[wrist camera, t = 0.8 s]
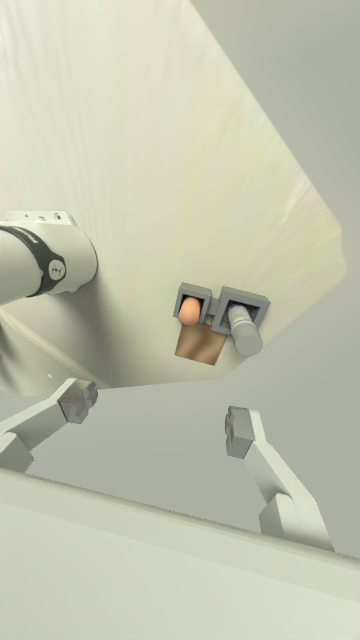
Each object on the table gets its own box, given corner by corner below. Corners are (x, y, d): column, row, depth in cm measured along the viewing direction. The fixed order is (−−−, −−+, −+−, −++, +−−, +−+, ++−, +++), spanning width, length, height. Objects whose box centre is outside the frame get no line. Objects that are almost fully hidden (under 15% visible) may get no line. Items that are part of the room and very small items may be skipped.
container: (245, 318, 42) (261, 357, 29) (225, 318, 43) (233, 355, 30) (247, 301, 40) (266, 334, 27) (227, 301, 41) (236, 333, 28)
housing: (175, 313, 45) (171, 321, 40) (183, 276, 40) (180, 281, 36) (248, 332, 44) (252, 343, 40) (265, 296, 39) (272, 304, 35)
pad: (175, 353, 51) (174, 354, 50) (183, 318, 45) (183, 319, 45) (214, 364, 50) (214, 365, 50) (228, 330, 45) (228, 331, 44)
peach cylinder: (182, 307, 41) (177, 322, 34) (186, 292, 40) (181, 304, 32) (198, 311, 41) (196, 327, 34) (202, 296, 39) (201, 309, 32)
